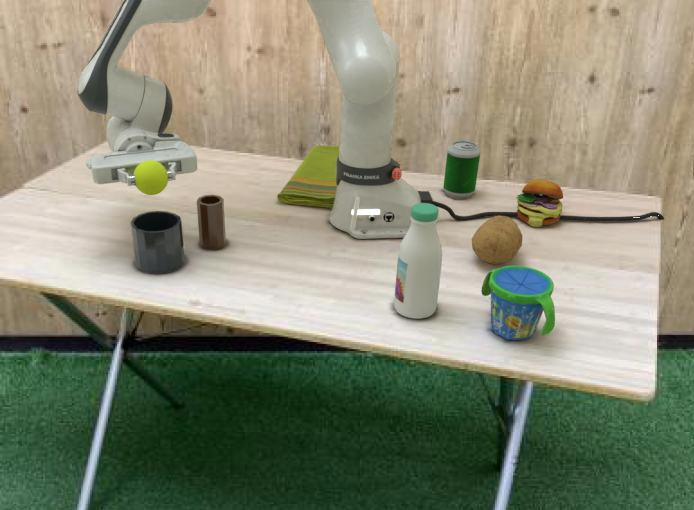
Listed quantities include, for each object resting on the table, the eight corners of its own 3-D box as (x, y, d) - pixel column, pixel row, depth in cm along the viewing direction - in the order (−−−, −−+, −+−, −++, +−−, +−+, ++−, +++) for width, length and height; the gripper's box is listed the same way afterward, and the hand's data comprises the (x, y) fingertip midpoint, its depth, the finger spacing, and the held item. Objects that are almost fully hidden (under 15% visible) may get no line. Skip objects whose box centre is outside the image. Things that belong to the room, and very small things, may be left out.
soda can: (476, 200, 184) (483, 151, 177) (444, 200, 184) (450, 150, 177) (471, 187, 190) (478, 139, 184) (440, 187, 190) (446, 139, 184)
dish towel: (276, 203, 181) (276, 190, 179) (312, 150, 210) (312, 138, 208) (341, 210, 178) (342, 197, 176) (368, 156, 207) (369, 144, 205)
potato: (522, 247, 164) (529, 212, 160) (514, 278, 153) (521, 241, 149) (476, 239, 167) (481, 205, 163) (464, 269, 156) (469, 233, 151)
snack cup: (565, 347, 134) (577, 295, 128) (514, 361, 130) (524, 308, 124) (510, 303, 145) (519, 254, 140) (462, 314, 142) (469, 265, 136)
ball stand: (227, 239, 166) (225, 195, 160) (222, 251, 161) (220, 206, 156) (203, 237, 166) (200, 193, 161) (197, 249, 162) (194, 204, 156)
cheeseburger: (509, 224, 173) (518, 178, 170) (516, 216, 183) (523, 173, 179) (557, 231, 170) (566, 185, 166) (560, 223, 179) (569, 179, 176)
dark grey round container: (189, 252, 161) (186, 212, 156) (177, 275, 153) (173, 233, 148) (143, 249, 162) (139, 209, 157) (129, 272, 154) (124, 230, 149)
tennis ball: (173, 188, 151) (170, 156, 148) (164, 201, 146) (161, 168, 142) (140, 185, 152) (137, 154, 148) (130, 199, 147) (127, 166, 143)
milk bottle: (441, 303, 145) (453, 203, 134) (428, 324, 139) (440, 220, 128) (401, 294, 148) (410, 195, 137) (387, 313, 142) (395, 212, 131)
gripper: (82, 144, 152) (93, 170, 142) (185, 133, 159) (203, 156, 148) (86, 175, 156) (97, 202, 145) (187, 162, 162) (205, 187, 151)
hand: (152, 179), depth 147 cm, fingers closed on tennis ball, 6 cm apart
